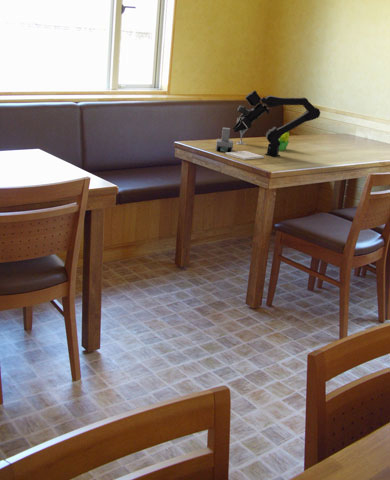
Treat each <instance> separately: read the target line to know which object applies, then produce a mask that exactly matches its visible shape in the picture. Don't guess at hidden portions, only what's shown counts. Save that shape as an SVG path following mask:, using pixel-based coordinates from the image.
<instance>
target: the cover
mask: <svg viewBox="0 0 390 480" xmlns="http://www.w3.org/2000/svg"><path fill="white" fill-rule="evenodd" d="M230 132H231V128H230V127H222V131H221V138H216V142H215V143H216V144H215V151H216V152H218V150H220V147H221V146H222V147H228V151H230V152H233V150H234V149H233V148H234V140H232V139H230Z"/></svg>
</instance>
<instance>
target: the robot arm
mask: <svg viewBox="0 0 390 480" xmlns="http://www.w3.org/2000/svg"><path fill="white" fill-rule="evenodd" d="M244 99H245V100H246V101H247V103H248V104H249V105H250V106H251V107H252V106H253V107H252V108H250V109H247V106H244V105H240V104H239V106H238V108H237V112H239V113H241V114H240V115H239V116H238V118H239V121H238V123H237V122H236V124H235V125H234V126H233V128H232V129H233V132H234V133H237V132H240V131H242V130H245V129H247V130H248V129H251V127H252V124H253V122H255V121H256V120H258V119H259V118H260V117H261V116H262V115H263V114H265V113H267V114H268V115H269V114H270V110H271V109H270V108H273V107H275V108H276V107H278V106H279V107H280V106H303V108H304V109H305V110H306V111H304V112H303V113H302V115H299V116H298V117H296V118H294V119H293V120H291V121H289V122H286V123H285V124H283V125H281V126H280V127H276V126H273V127H272V128H271V129H268V131H266V134H265V138H266V140H267V141H268V145H267V149H266V150H267V151H266V153H264V155H265V156H269V157H273V158H274V157H281V155H280V154H279V152H280V151H279V146H280V144H281V143H280V141H279V140H278V139H280V137H281V136H282V135H283V134H285V133H286V132H290V131H291V130H293V129H295V128H297V127H299V126H301V125H302V124H305V123H306V122H310V121H313V120H316V119H318V118H320V115H321V110H320V109H319V108H318V107H316V106H314V105H313V104H312V103H311V102H310V101H309V100H308V99H307V98H306V97H280V96H275V95H270V94H269V95H267V96H266V97H265V96H264V97H263V96H262V97H260V96H259V94H258V92H257V91H256V90H253V91H251V92H249V93H248V94H247V95H246V96H245V97H244ZM247 127H248V128H247Z"/></svg>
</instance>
